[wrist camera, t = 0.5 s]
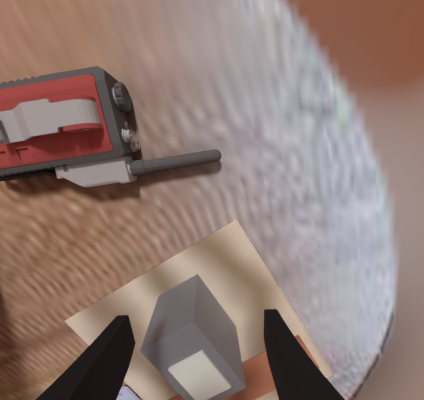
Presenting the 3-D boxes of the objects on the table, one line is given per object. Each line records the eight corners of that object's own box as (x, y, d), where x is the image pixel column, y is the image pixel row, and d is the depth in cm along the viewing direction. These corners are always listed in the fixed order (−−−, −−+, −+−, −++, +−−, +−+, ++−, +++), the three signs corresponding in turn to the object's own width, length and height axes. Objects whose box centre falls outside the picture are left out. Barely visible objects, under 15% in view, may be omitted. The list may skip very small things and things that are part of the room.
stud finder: (198, 345, 23) (195, 415, 17) (158, 296, 21) (138, 353, 15) (235, 326, 22) (246, 390, 16) (197, 273, 20) (193, 323, 14)
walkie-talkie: (15, 199, 19) (221, 166, 18) (-42, 212, 14) (226, 169, 14) (-24, 100, 17) (207, 61, 16) (-104, 81, 12) (207, 29, 12)
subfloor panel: (185, 442, 26) (185, 444, 26) (65, 320, 22) (63, 321, 21) (333, 373, 24) (334, 375, 24) (236, 219, 19) (236, 219, 19)
